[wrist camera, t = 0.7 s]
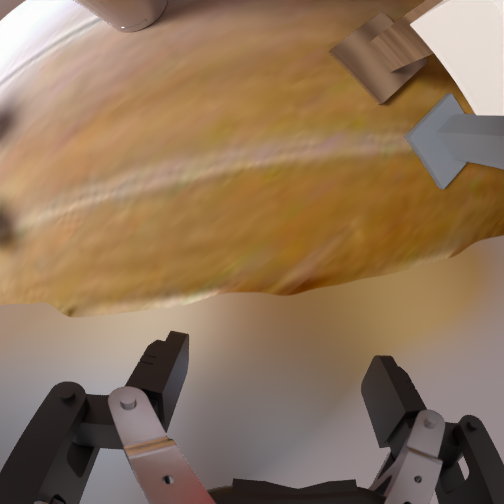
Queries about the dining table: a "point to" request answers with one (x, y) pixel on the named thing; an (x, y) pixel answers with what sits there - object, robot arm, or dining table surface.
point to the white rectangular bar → (469, 48)
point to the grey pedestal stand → (456, 140)
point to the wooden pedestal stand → (385, 52)
